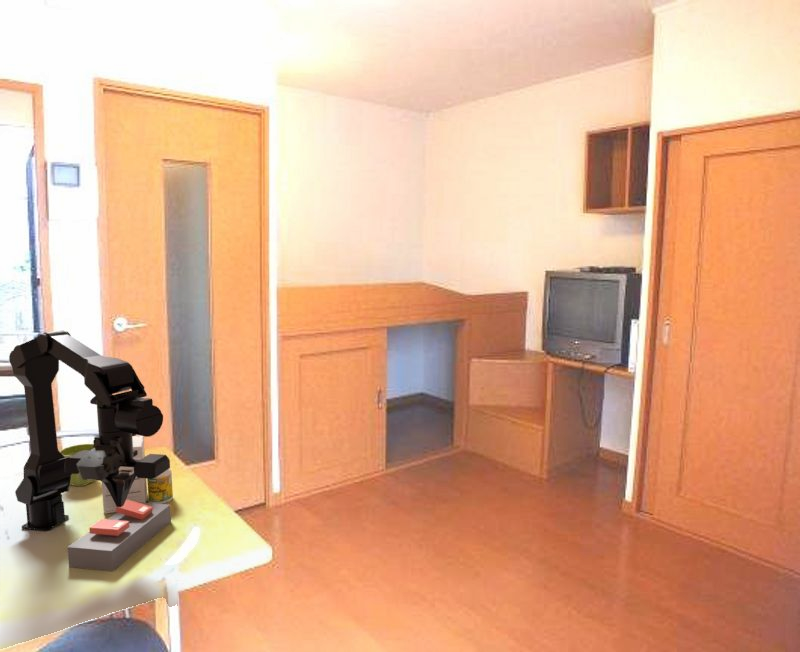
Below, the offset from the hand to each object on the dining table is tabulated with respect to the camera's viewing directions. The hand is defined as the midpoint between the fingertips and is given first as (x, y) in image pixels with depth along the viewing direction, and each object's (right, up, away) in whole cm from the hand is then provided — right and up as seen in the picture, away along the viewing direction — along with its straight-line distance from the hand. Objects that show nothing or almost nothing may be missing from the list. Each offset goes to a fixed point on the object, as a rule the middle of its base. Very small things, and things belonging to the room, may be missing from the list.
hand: (120, 506), depth 112 cm
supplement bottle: (-3, -7, +26) cm, 27 cm away
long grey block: (-2, -9, +8) cm, 12 cm away
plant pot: (-27, -5, +37) cm, 46 cm away
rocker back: (-1, -3, +9) cm, 10 cm away
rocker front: (-3, -4, +1) cm, 5 cm away
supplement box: (-10, -7, +24) cm, 27 cm away
